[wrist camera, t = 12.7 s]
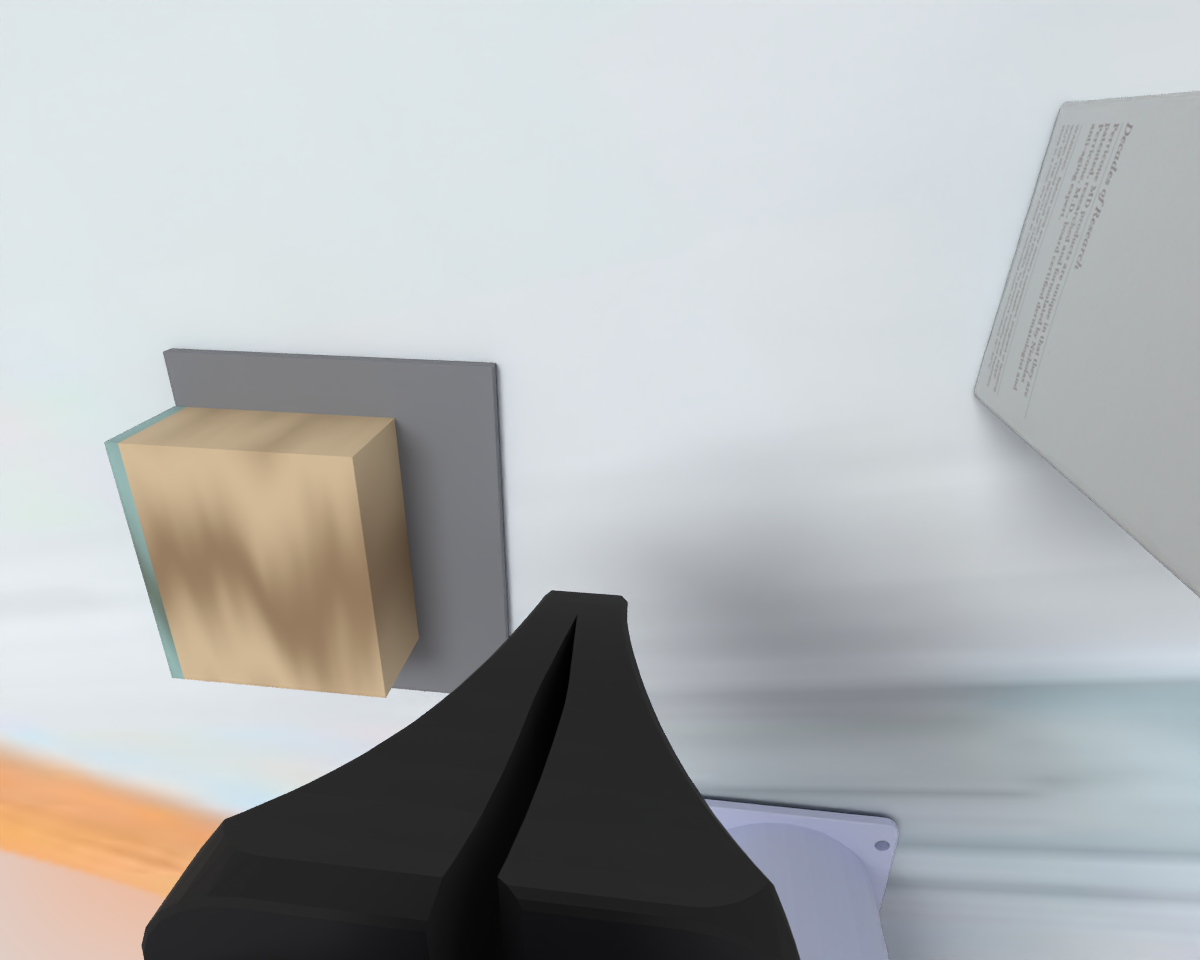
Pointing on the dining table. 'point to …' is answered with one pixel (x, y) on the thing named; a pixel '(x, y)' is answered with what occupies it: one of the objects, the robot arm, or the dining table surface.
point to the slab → (272, 546)
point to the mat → (428, 473)
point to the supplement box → (1112, 319)
